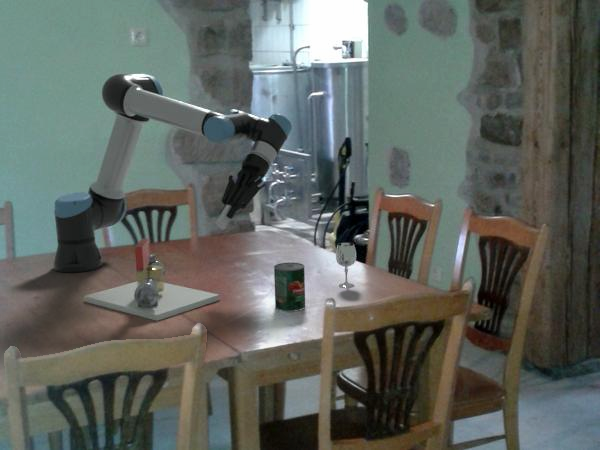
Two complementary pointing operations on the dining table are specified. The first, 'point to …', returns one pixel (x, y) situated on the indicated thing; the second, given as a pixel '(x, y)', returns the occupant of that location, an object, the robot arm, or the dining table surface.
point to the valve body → (149, 285)
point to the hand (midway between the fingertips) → (219, 226)
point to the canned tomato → (289, 286)
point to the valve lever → (143, 255)
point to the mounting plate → (169, 300)
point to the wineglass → (346, 259)
